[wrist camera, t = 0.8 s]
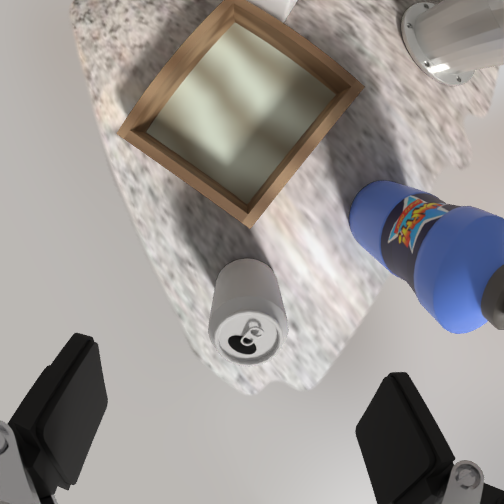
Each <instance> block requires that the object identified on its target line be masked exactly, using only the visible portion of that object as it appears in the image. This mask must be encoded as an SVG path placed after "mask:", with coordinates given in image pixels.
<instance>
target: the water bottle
mask: <svg viewBox="0 0 504 504" xmlns="http://www.w3.org/2000/svg"><path fill="white" fill-rule="evenodd" d="M349 223H350V228H351V232H352V234H353V236H354V238H355V239H356V241H357V242H358V243H359V244H360V245H361V246H362V247H363V248H365V249H366V250H367V251H368V252H369V253H370V254H371V255H372V256H373V257H374V258H376V259H377V260H378V261H379V262H380V263H381V264H382V265H383V266H384V267H385V268H387V269H388V270H389V271H390V272H391V273H392V274H394V275H395V276H397V277H400V278H401V279H403V280H405V281H406V282H407V283H408V284H409V285H410V287H411V288H412V289H413V291H414V292H415V294H416V296H417V297H418V300H419V302H420V304H421V305H422V306H423V307H424V308H425V309H426V310H427V311H428V312H429V313H430V314H431V315H432V316H433V317H434V318H435V319H436V320H437V321H438V322H439V324H440V325H441V326H442V327H443V328H444V329H446V330H447V331H449V332H451V333H456V334H460V333H467V332H470V331H473V330H475V329H477V328H479V327H481V326H482V325H483V324H485V323H486V322H487V321H489V322H490V323H491V324H492V325H493V326H494V327H496V328H497V329H499V330H504V219H503V218H501V217H499V216H497V215H494V214H491V213H489V212H486V211H484V210H481V209H478V208H475V207H471V206H456V205H450V204H446V203H445V202H443V201H441V200H440V199H439V198H438V197H436V196H434V195H432V194H430V193H427V192H424V191H421V190H418V189H415V188H412V187H408V186H405V185H402V184H398V183H395V182H391V181H386V180H382V181H376V182H372V183H370V184H368V185H367V186H365V187H364V188H363V189H362V190H361V191H360V192H359V193H358V194H357V195H356V197H355V199H354V201H353V203H352V206H351V209H350V214H349Z"/></svg>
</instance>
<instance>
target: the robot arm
mask: <svg viewBox="0 0 504 504" xmlns="http://www.w3.org/2000/svg"><path fill="white" fill-rule="evenodd" d="M401 31H402V36H403V40H404V43H405V45H406V48H407V50H408V51H409V53H410V55H411V57H412V58H413V60H414V61H415V63H416V64H417V65H418V66H419V67H420V68H421V69H422V71H424V72H425V73H426V74H427V75H428V76H429V77H431V78H432V79H434V80H435V81H437V82H439V83H441V84H444V85H448V86H458V85H462V84H464V83H467V82H468V81H469V80H470V79H471V78H472V76H473V75H474V72H475V70H478V69H483V68H489V67H494V66H500V65H504V0H443V1H441V2H440V3H438V4H433V3H429V2H419V3H416V4H414V5H412V6H411V7H409V8H408V9H407V10H406V11H405V13H404V15H403V17H402V22H401ZM107 400H108V399H107V394H106V389H105V383H104V379H103V373H102V367H101V361H100V354H99V348H98V344H97V343H96V342H94V340H93V338H92V337H90V336H87V335H83V334H80V333H75V334H73V336H72V337H71V338H70V340H69V341H68V342H67V343H66V345H65V346H64V347H63V349H62V350H61V352H60V353H59V354H58V356H57V357H56V358H55V360H54V361H53V363H52V364H51V365H49V366H47V367H46V368H45V369H44V371H43V372H42V373H41V375H40V376H39V378H38V379H37V380H36V382H35V383H34V385H33V386H32V388H31V389H30V391H29V392H28V393H27V395H26V396H25V398H24V399H23V401H22V402H21V404H20V406H19V407H18V408H17V410H16V412H15V413H14V415H13V416H12V418H11V419H10V421H9V423H8V424H6V423H5V422H3V421H0V504H58V503H57V501H56V499H55V496H54V494H55V491H56V488H57V486H59V487H61V488H64V489H66V490H69V488H70V485H71V484H72V485H74V484H76V482H77V479H78V477H79V475H80V472H81V469H82V466H83V464H84V461H85V459H86V456H87V454H88V451H89V449H90V446H91V444H92V441H93V439H94V436H95V434H96V432H97V429H98V427H99V424H100V422H101V420H102V417H103V415H104V412H105V410H106V407H107V403H108V401H107ZM356 437H357V440H358V443H359V446H360V449H361V452H362V455H363V458H364V462H365V465H366V468H367V471H368V474H369V478H370V481H371V484H372V487H373V491H374V494H375V497H376V501H377V504H504V491H503V490H500V489H498V488H495V487H493V486H490V485H488V484H485V483H484V475H483V472H482V470H481V469H480V467H479V466H478V465H477V464H475V463H473V462H472V461H467V460H463V461H460V462H457V463H456V464H455V465H454V464H453V461H454V460H455V457H454V455H453V453H452V451H451V449H450V447H449V445H448V443H447V442H446V440H445V438H444V436H443V434H442V432H441V431H440V429H439V427H438V425H437V423H436V421H435V420H434V418H433V416H432V414H431V413H430V411H429V409H428V407H427V406H426V404H425V402H424V400H423V399H422V397H421V395H420V394H419V392H418V390H417V388H416V387H415V385H414V383H413V382H412V380H411V378H410V377H409V375H408V374H407V373H406V372H393V373H390V374H389V375H388V376H387V377H385V378H384V379H383V381H382V383H381V384H380V386H379V388H378V390H377V392H376V394H375V395H374V397H373V399H372V401H371V403H370V404H369V406H368V408H367V410H366V411H365V413H364V415H363V416H362V418H361V419H360V421H359V423H358V424H357V426H356Z"/></svg>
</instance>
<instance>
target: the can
mask: <svg viewBox="0 0 504 504" xmlns="http://www.w3.org/2000/svg"><path fill="white" fill-rule="evenodd" d="M288 331H289V329H288V322H287V317H286V313H285V309H284V305H283V301H282V297H281V293H280V289H279V285H278V281H277V278H276V276H275V274H274V272H273V270H272V269H271V268H270V267H269V266H267V265H266V264H265V263H263V262H261V261H258V260H256V259H248V258H245V259H239V260H235V261H233V262H231V263H229V264H227V265H226V266H225V267H224V268H223V269H222V270H221V271H220V273H219V275H218V277H217V280H216V285H215V291H214V296H213V302H212V308H211V313H210V319H209V328H208V333H209V337H210V340H211V342H212V344H213V345H214V347H215V348H216V350H217V351H218V352H219V354H220V355H221V356H222V357H223V358H224V359H226V360H227V361H229V362H230V363H233V364H236V365H239V366H249V367H250V366H257V365H261V364H263V363H266V362H268V361H270V360H271V359H272V358H274V357H275V356H276V355H277V354H278V352H279V351H280V349H281V348H282V345H283V344H284V343H285V341H286V339H287V335H288Z"/></svg>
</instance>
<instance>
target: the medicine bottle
mask: <svg viewBox="0 0 504 504" xmlns="http://www.w3.org/2000/svg"><path fill="white" fill-rule="evenodd" d="M246 1H248V2H250V3H252V4H253V5H255V6H257V7H258V8H260V9H262V10H263V11H265V12H267V13H268V14H270V15H271V16H273V17H275V18H276V19H278V20H279V21H281V22H282V23H284V22H285V20H286V18H287V17H288V15H289V13H290V12H291V10H292V8H293V7H294V5H295V4H296V2H297V1H298V0H246Z"/></svg>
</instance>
